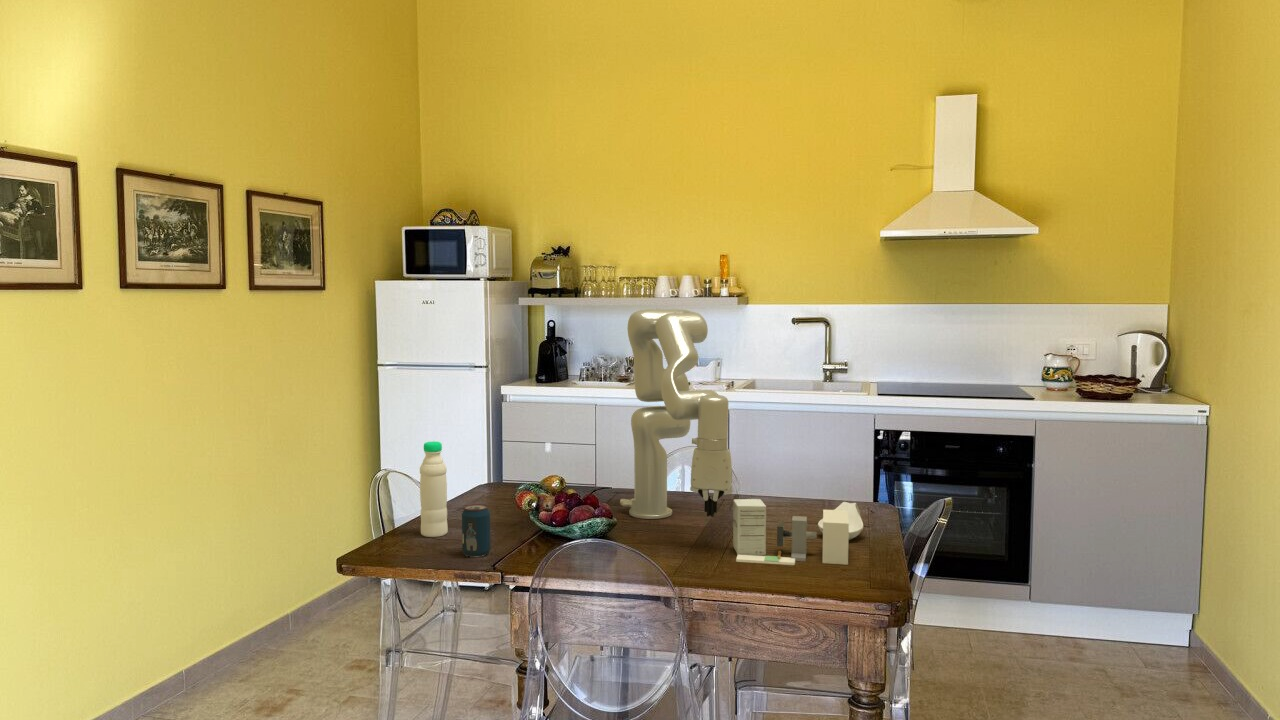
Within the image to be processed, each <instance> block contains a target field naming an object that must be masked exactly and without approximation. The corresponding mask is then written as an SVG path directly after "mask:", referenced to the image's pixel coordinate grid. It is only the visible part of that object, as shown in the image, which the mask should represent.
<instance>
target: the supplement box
mask: <svg viewBox="0 0 1280 720" xmlns="http://www.w3.org/2000/svg"><path fill="white" fill-rule="evenodd" d="M732 511H733V514H732V515H733V519H732V521H733V523H732V526H733V527H732V528H733V529H732V531H733V532H732V533H733V535H732V539H733V540H732V548H733V549H734V550H735V552H736V555H754V556H767V505H766V504H765V503H764V501H763V500H762V499H760V498H746V499H745V498H744V499H743V498H739V499H733V510H732Z"/></svg>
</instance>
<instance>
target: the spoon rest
mask: <svg viewBox="0 0 1280 720" xmlns="http://www.w3.org/2000/svg"><path fill="white" fill-rule="evenodd" d="M834 510H844V511H848V521H849V538H848V541H850V540H852V539H854V538H855V539H856V538H857V536H859V535H860V534H861V532H862V531H863V529H864V523H863V520H862V517H861V512H860V508H859V506H858V504H857V503H856V502H851V503H850V502H846V501H843V502H841V503H840V504H839V505H838V506H837V507H836V508H834ZM817 527H818V529H819V531H820V532H821V533H822V534H823V518H822V519H820V520H819V521H818V523H817Z"/></svg>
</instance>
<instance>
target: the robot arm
mask: <svg viewBox="0 0 1280 720" xmlns="http://www.w3.org/2000/svg"><path fill="white" fill-rule="evenodd" d="M626 328H627V338H628V341H629V343H630V344H629V345H630V347H631V349H632V355H633V374H634V390H635V396H636V398H637V399H638V400H639V401H641V402H643V403H644V402H645V403H655V402H656V403H657V402H664V405H662V406H661V405H659V406H658V405H657V406H645V407H640V408H637V409H636V410H634V412H632V415H631V419H630V425H631V432H632V437H633V449H634V452H633V453H634V455H633V456H634V464H633V465H634V468H633V469H634V477H633V478H634V497H633V498H630V499H627V498H620V501H619V504H620V506H622V507H626V508H627V507H629V508H630V509H629V510H628V512H629V513H628V514H629V516H631V517H633V518H635V519H636V518H637V519H644V520H645V519H646V520H655V519H665V518H669V517H670V516H672V515H673V509H672V508H670V507H668V455H667V451H666V449H665V447H663V445H662V444H661V442H660V440H665V439H666V440H667V439H677V438H683V437H685V436H687V435H688V433H689V432H690V429H691V421H694V420H697V437H696V438H692V439H691V445H696V447H695V448H694V450H693V453H692V458H691V459H692V460H691V470H690V488H689V490H690V492H693V493H696V494H699V496H701V498H702V499H703V500H704V513H706V516H707V517H714V515H715V514H717V512H718V500H720V498H721V497H723V496H724V495H725V496H726V495H731V494H732V493H733V487H732V486H733V485H732V483H733V482H732V481H733V470H732V469H733V468H732V466H733V465H732V457H731V456H732V455H731V451H730V449H729V448H728V435H729V434H728V433H729V431H728V430H729V399H728V398H727V397H726V396H724V395H721V394H719V393H717V392H716V391H715V390H712V389H700V390H695V389H694V390H690V385H689V379H688V377H687V375H686V373H687V372H689V371H691V370H692V369H693V368H695V366H696V365H697V363H698V362H699V354H698V351H697V350H696V346H695V345H694V344H701V343H703V342H704V341H705V340H706V339H707V336H708V331H709V330H708V328H709V327H708V324H707V321H706V320H705V318H704V316H703V315H701V314H700V313H699V312H695V311H692V310H691V311H690V310H687V309H680V308H679V309H678V308H676V309H675V308H672V309H671V308H669V309H668V308H666V309H664V308H663V309H661V308H656V309H655V308H653V309H652V308H649V309H640V310H636V311H634V312H633V313H631V315H630V316H629V318H628V320H627V327H626ZM657 339H658V342H659V344H658V343H657V342H656V341H655V340H657ZM659 345H660V346H659ZM664 359H665V360H666V363H667V366H666V368H665V367H664ZM710 491H713V496H712V497H711V495H710Z"/></svg>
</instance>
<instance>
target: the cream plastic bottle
mask: <svg viewBox="0 0 1280 720" xmlns="http://www.w3.org/2000/svg"><path fill="white" fill-rule="evenodd" d="M442 449H443V446H442V442H440V441H435V440H433V441H427V442H424V443H423V451H424V452H423V453H424V454H425V456H424V458H423V460H422V463H421V465H420V467H419V474H420V478H419V479H420V481H419V496H420V507H421V508H420V521H421V522H420V534H421V535H422V536H423V537H426V538H438V537H443V536H445V535H447V533H448V530H449V529H448V528H449V527H448V520H447V519H448V508H447V505H448V504H447V502H448V486H447V485H448V483H447V466H446V464H445V461H444V459H443V458H442V456H441V453H442Z"/></svg>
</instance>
